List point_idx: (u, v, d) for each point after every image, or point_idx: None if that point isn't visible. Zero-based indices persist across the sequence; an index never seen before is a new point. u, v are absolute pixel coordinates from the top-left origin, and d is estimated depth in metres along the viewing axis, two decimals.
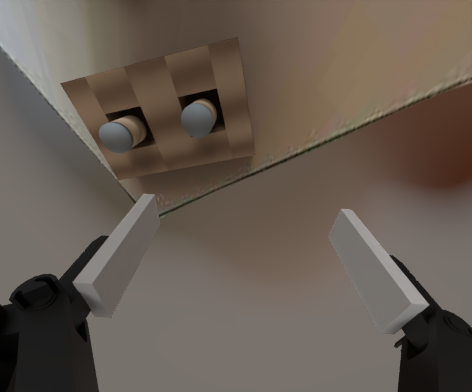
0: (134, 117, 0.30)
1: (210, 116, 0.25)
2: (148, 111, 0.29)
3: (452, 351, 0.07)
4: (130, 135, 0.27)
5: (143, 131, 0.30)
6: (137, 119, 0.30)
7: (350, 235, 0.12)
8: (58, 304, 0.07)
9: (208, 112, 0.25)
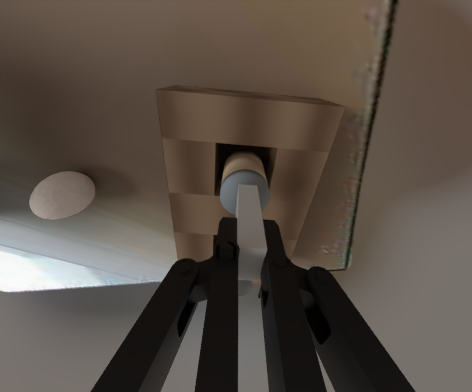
0: None
1: (244, 176, 0.15)
2: None
3: (280, 287, 0.08)
4: None
5: None
6: None
7: None
8: (233, 267, 0.09)
9: (237, 177, 0.15)
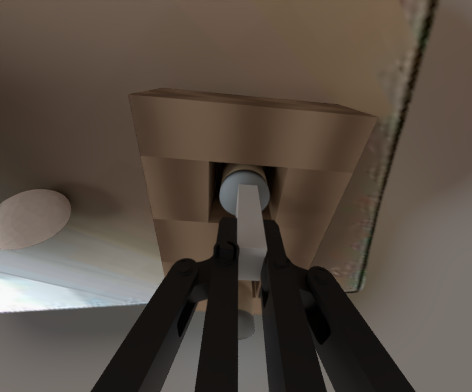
0: None
1: (243, 176, 0.15)
2: None
3: (280, 287, 0.08)
4: None
5: None
6: None
7: None
8: (233, 267, 0.09)
9: (237, 177, 0.15)
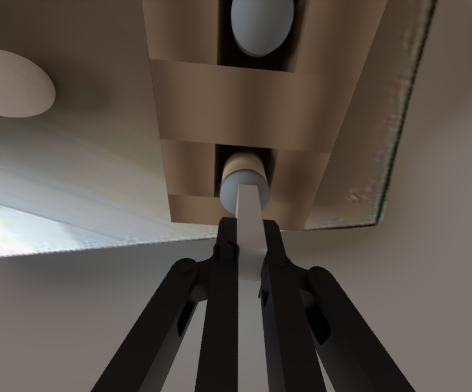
0: (228, 157, 0.19)
1: None
2: (225, 134, 0.17)
3: (280, 287, 0.08)
4: (248, 170, 0.15)
5: (250, 155, 0.19)
6: (232, 155, 0.19)
7: None
8: (233, 267, 0.09)
9: None
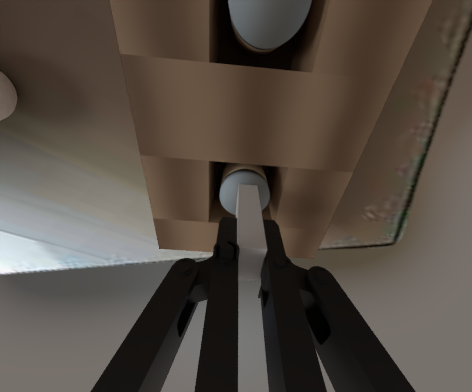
0: None
1: None
2: (222, 150, 0.14)
3: (280, 287, 0.08)
4: (247, 170, 0.15)
5: None
6: None
7: None
8: (233, 267, 0.09)
9: None
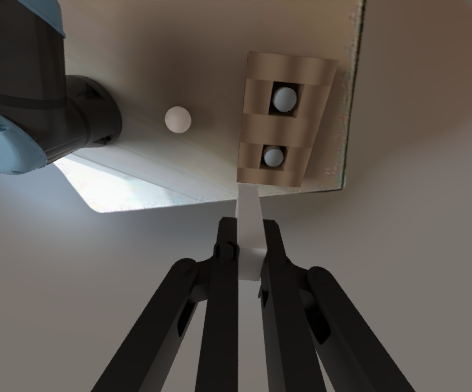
0: (265, 145, 0.47)
1: (286, 88, 0.36)
2: (268, 140, 0.41)
3: (280, 287, 0.08)
4: (275, 148, 0.43)
5: None
6: None
7: None
8: (233, 267, 0.09)
9: (283, 89, 0.36)
